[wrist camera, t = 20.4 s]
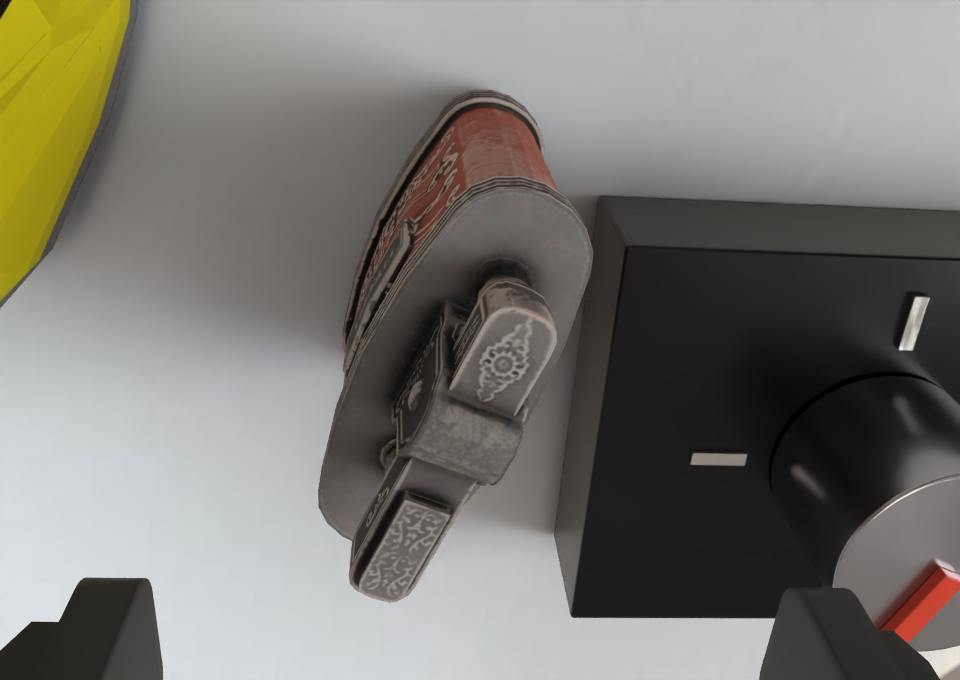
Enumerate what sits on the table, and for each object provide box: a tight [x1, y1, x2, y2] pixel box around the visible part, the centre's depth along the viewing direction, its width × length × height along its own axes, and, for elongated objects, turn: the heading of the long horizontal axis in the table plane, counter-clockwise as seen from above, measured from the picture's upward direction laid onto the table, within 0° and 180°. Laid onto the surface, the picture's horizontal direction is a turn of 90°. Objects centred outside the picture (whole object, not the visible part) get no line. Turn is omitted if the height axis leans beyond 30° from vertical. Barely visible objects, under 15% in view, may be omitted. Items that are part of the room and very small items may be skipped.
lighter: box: [318, 90, 593, 603], centre depth 19 cm, size 8×3×10 cm, turn 154°
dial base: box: [554, 196, 960, 618], centre depth 24 cm, size 14×11×4 cm
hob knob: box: [771, 376, 960, 651], centre depth 21 cm, size 5×5×4 cm
